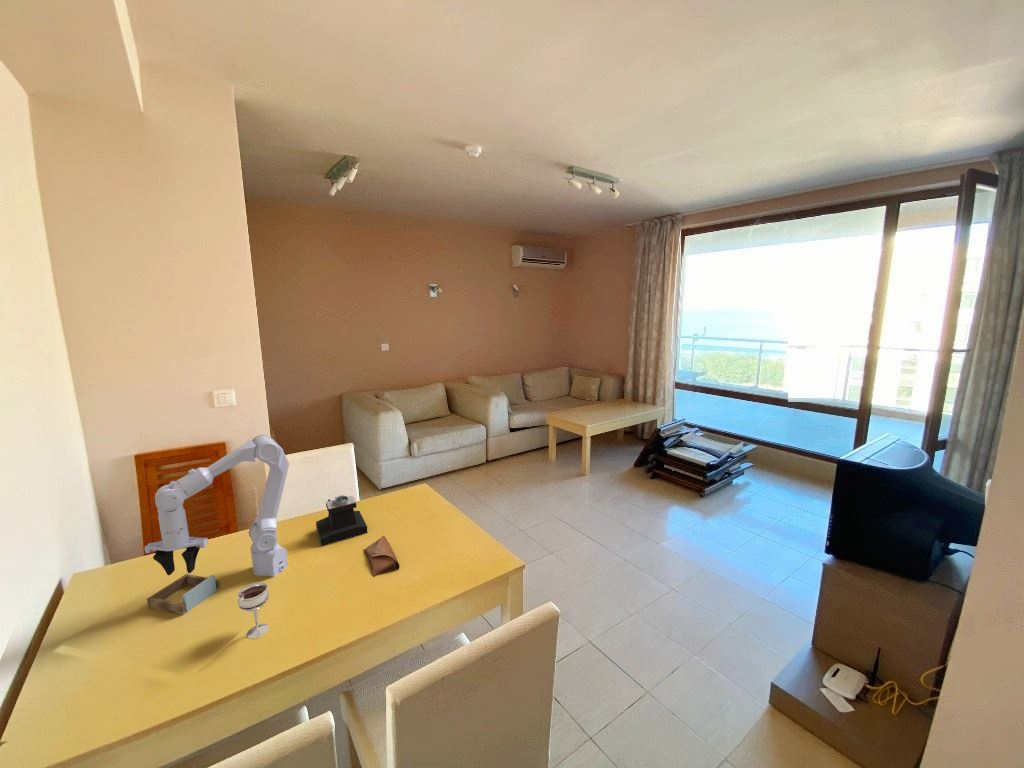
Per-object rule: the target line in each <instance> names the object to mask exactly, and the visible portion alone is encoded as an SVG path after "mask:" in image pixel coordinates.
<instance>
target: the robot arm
mask: <svg viewBox="0 0 1024 768" xmlns="http://www.w3.org/2000/svg"><path fill="white" fill-rule="evenodd" d="M256 458H257V459H258V460H259V461H261V462H263V463H265V464H267V466H268V467H269V470H268V474H267V478H266V483H265V486H264V492H263V496H262V497H261V498H262V499H261V503H260V507H259V511H258V515H257V516H255V519H254V523H253V524H252V525H251V526H250V528H249V530H248V536H249V537H250V539H251V542H252V544H251V546H250V554H251V563H252V564H251V565H252V569H253V574H254V575H255V576H258V577H262V576H263V577H264V576H265V577H272V578H276V577H277V576H278V575H279V574H280V573H281V572H282V571H283V570H285V569H286V568H287V567H288V566H289V560H288V558H289V557H288V551H287V548H285V547H283V546H281V545H280V544H279V543H278V536H277V529H278V526H277V525H278V524H277V518H278V517H277V516H278V512H279V508H280V505H281V500H282V496H283V491H284V487H285V484H286V480H287V475H288V471H289V467H290V463H289V460H288V458H287V456H286V454H285V452H284V449H283V448H282V447H281V446H280V445H279V444H278V442H277V441H276V440H275V439H273V438H272V437H271V436H270V435H268V434H258V435H256V436H254V437H253V438H252V439H248V440H247V441H245V442H244V443H242V444H241V445H240V446H238V447H236V448H235V449H234V450H232V451H230V452H229V453H227V454H226V455H224V456H222V457H221V458H220V459H218V460H217V461H215V462H214V463H212V464H210V465H209V466H207V467H197V468H195V469H194V468H191V469H189V470H188V473H187V474H185V475H184V476H182V477H181V478H179V479H177V480H176V481H175V480H172V481H170V482H169V484H165V485H163V486H161V487H159V488H158V490H157V491H156V492H155V495H154V499H155V503H154V504H155V506H156V508H157V514H158V516H157V518H158V519H157V520H158V523H159V530H160V535H161V540H160V541H154V542H149V543H148V544H147V545H145V546H144V552H145V554H150V553H152V552H155V553H154V555H153V556H152V558H153V561H156V562H157V563H158V564H159V565H161V567H162V569H163V570H164V571H165V573H166V574H167V576H171V575H172V574H173V573H174V572H175V569H176V568H175V560H174V552H175V551H179V550H184V549H185V550H184V551H182V553H181V556H182V558H183V560H184V562H185V565H186V571H187V574H192V572H193V571H194V570H195V568H196V561H197V557H198V554H199V552H200V549H204V548H206V547H207V546H208V545H209V538H208V537H195V536H190V533H189V527H188V522H187V521H188V520H187V516H186V509H185V508H184V502H185V500H187V499H189V498H190V497H193V496H194V495H196V494H197V493H199V492H201V491H202V490H204V489H206V488H207V487H208V486H211V485H212V484H213V482H214V478H215V477H217V476H219V475H221V474H222V473H225V472H226V471H228V470H230V469H232V468H234V467H235V466H237V465H239V464H241V463H242V462H248V463H249V462H251V463H252V462H253V463H255V462H256Z"/></svg>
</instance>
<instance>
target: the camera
mask: <svg viewBox="0 0 1024 768" xmlns="http://www.w3.org/2000/svg"><path fill="white" fill-rule="evenodd" d="M325 507H326V508H327V512H328V515H327V516H326V517H324V518H321V519H319V520H317V521H316V522H315V527H316V532H317V536H318V539H319V542H320V546H321V547H323V546H326V545H329V544H333V543H337V542H341V541H343V540H347V539H351V538H354V537H358V536H361V535H364V534H368V525H367V523H366V521H365V518H364V517H363V515H362V513H361V511H360V510H354V509H355V508H356V509H357V502H356V500H355V497H354V496H353V495H350V496H347V495H344V494H343V495H339V496H338V495H337V496H335V497H334V499H333V500H331V499H330V498H329V499H327V501H325Z"/></svg>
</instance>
